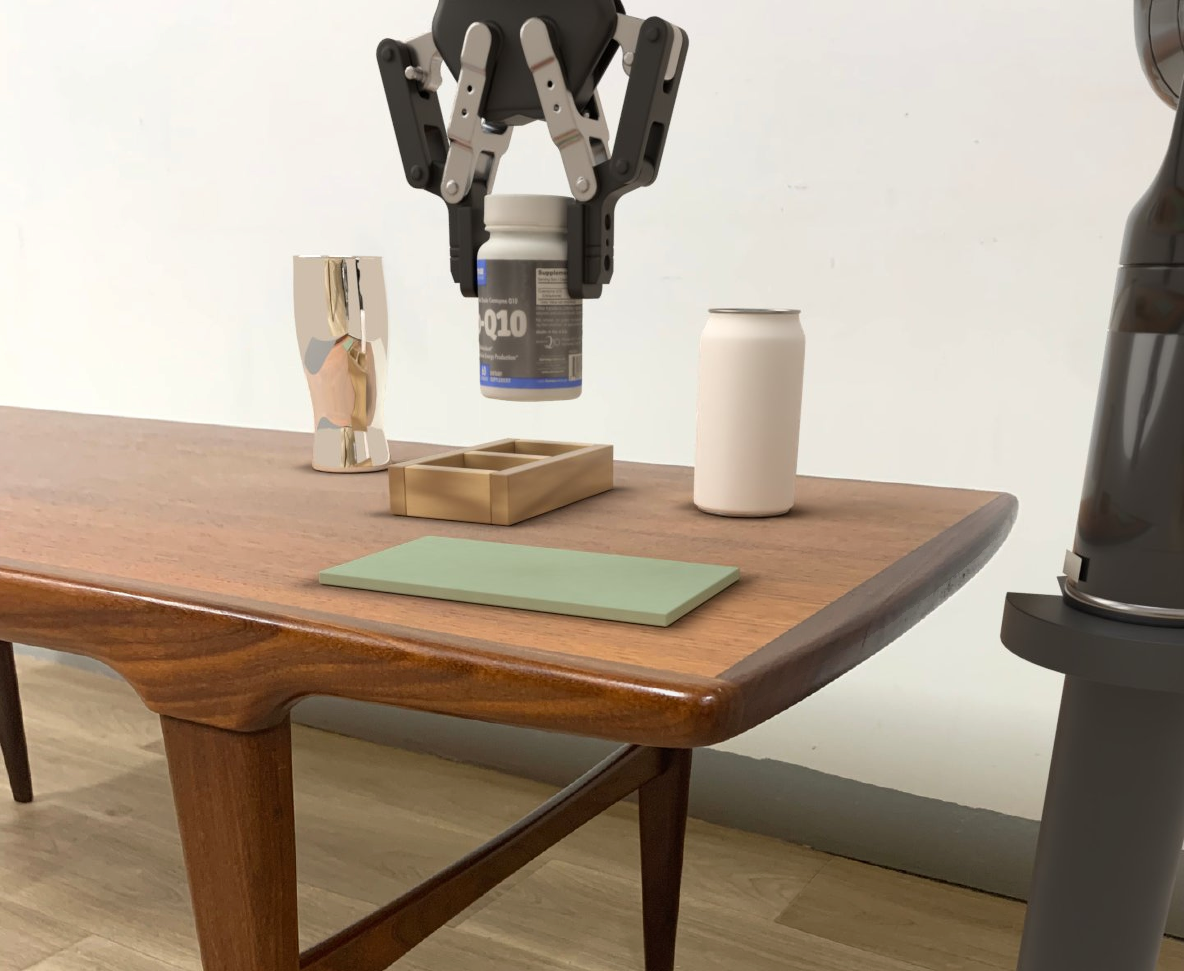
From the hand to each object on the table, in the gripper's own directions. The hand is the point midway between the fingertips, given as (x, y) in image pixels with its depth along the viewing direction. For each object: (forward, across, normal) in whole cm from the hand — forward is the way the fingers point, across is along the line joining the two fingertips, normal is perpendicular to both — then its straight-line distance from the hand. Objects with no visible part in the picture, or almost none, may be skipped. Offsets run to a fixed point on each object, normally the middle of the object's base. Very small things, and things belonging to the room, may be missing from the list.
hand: (530, 296), depth 55 cm
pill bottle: (+5, 0, 0) cm, 5 cm away
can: (+13, -3, -24) cm, 27 cm away
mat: (+13, 0, 0) cm, 13 cm away
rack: (+13, +12, -20) cm, 27 cm away
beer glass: (+13, +30, -28) cm, 43 cm away
